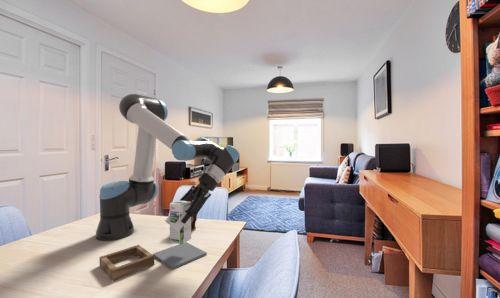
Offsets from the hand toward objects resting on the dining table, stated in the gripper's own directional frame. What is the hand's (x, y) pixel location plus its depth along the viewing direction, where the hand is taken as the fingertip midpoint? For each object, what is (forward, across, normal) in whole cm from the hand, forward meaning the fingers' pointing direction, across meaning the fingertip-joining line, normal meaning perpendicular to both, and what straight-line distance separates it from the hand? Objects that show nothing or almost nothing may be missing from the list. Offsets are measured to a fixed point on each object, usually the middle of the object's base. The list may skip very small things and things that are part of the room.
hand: (171, 226), depth 86 cm
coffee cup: (-3, +24, -19) cm, 31 cm away
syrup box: (+2, 0, -7) cm, 7 cm away
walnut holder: (+18, +4, +2) cm, 18 cm away
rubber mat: (+6, 0, -10) cm, 12 cm away
